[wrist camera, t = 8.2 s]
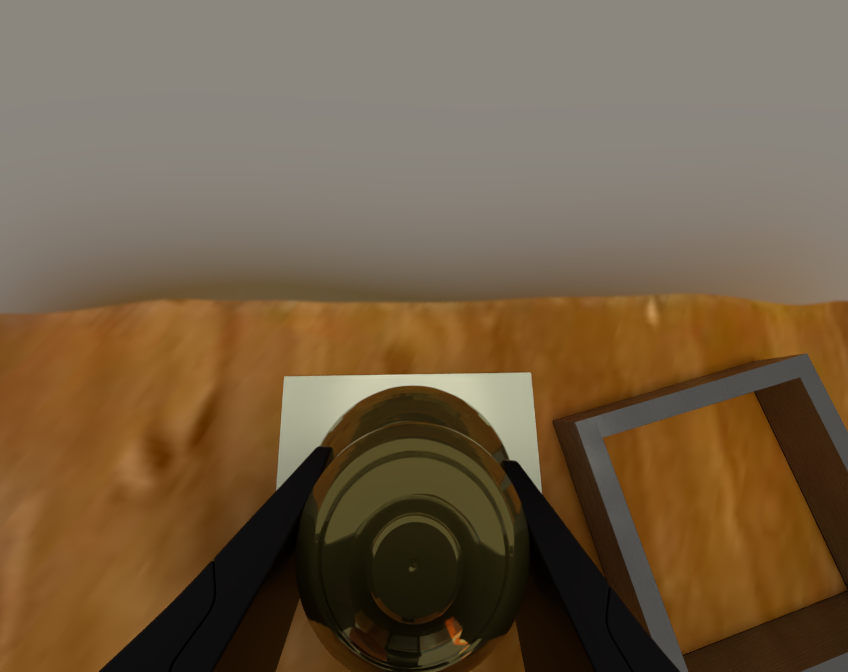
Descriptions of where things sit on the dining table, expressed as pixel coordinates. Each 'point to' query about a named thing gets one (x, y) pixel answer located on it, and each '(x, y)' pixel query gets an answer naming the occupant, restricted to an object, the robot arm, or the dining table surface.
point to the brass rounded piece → (412, 536)
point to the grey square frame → (815, 473)
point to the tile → (333, 395)
